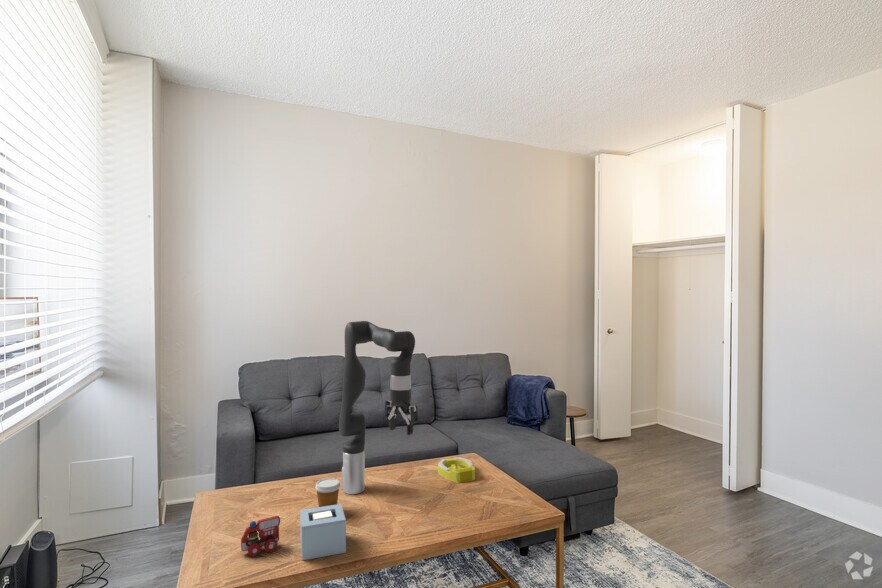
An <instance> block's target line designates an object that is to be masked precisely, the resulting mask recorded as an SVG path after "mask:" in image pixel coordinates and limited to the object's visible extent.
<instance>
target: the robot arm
mask: <svg viewBox="0 0 882 588" xmlns="http://www.w3.org/2000/svg"><path fill="white" fill-rule="evenodd" d="M370 342H373V343H374V344H375V345H377V346H379V347H380V348H381V347H382V348H384V349H386V350H387V352H391V353H393V352H394V353H396V352H397V353H398V352H400V354H399V356H396V357H394V358H392V359H391V360H390V379H389V384H390V388H389V392H390V393H389V397H390V399H389V400H386V401H384V417H385V418H387V419H388V428H389V431H394V430H395V429H396V418H397V416H400V417H402V418H403V420H405V422H406V435H408V436H410V435H412V434H413V433H414V424H416V423H418V422H419V416H418V415H419V414H418V405H412V404H411V400H412V378H411V377H412V376H411V362H412V360H413V358H412V357H413V354H414V352H415V351H414V350H415V347H416V338H415V334H414V333H413V332H412V331H408V330H405V331H404V330H403V331H395V330H393V329H390V328H384V327H380V326H377V325H376V324H374V323H373V322H370V321H368V320H361V321H360V320H359V321H351V322H350V321H349V322H347V323H346V324H345V327H344V366H343V375H342V377H343V378H342V394H341V395H342V396H341V397H342V398H341V404H340V405H341V407H340V412H339V419H338V431H339V434H340V435H341V436H342V437H352V436H353V437H352V438H350V439H349V440H348V441H346V442H344V443H343V445H342V467H341V490H342V491H343V493H344V494H347V495H357V494H360V493H362V492H365V490H366V486H365V485H366V483H365V482H366V481H365V480H366V478H365V477H366V476H365V475H366V468H365V466H366V465H365V462H366V461H365V458H366V457H365V445H366V424H367V423H366V417H365V415H364V413H362V412H352V413H351V411H352V409H353V406H354V404H355V403H356V402H357V400H358V399H359V398H360V397H361V395H362V393H363V391H364V389H365V386H366V375H367V374H366V371H365V370H366V369H365V368H364V366H363V364H362V363H361V361H360V360H359V358H358V355H357V350H356V349H357V345H360V344H367V343H370Z"/></svg>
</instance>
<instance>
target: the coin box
mask: <svg viewBox="0 0 882 588" xmlns="http://www.w3.org/2000/svg"><path fill="white" fill-rule="evenodd" d="M326 511H331V513H332V518H326V519H320V520H314V521H313V514H315V513H320V512H326ZM299 517H300V519H299V520H300V526H299V528H300V530H299V532H300V551H301V552H300V553H301V560H302V561H307V560H312V559H316V558H317V559H318V558H322V557H328V556H334V555H338V554H339V555H340V554H344V553H346V552H347V536H346V535H347V524H346V523H347V521H346V520H347V519H346V516H345V512H344V509H343V506H342V503H339V504H338V503H337V505H330V506H324V507H319V506H317V507H312V508H305V509H300V514H299Z"/></svg>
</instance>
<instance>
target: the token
mask: <svg viewBox="0 0 882 588" xmlns="http://www.w3.org/2000/svg"><path fill="white" fill-rule="evenodd" d="M326 518H332V513H331V511H326V512H320V513H315V514H313V521H314V520H320V519H326Z"/></svg>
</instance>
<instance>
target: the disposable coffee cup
mask: <svg viewBox="0 0 882 588" xmlns="http://www.w3.org/2000/svg"><path fill="white" fill-rule="evenodd" d="M314 487H315V488H314V489H315V491H316V496H317V503H318V504H317V505H318V507H324V506H330V505H337V504H338V500H339V499H338V498H339V490H340V487H341V483H340V481H339V479H337V478H333V477H328V478H321V479H319V480H318V481H316V483H315V486H314Z"/></svg>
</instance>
